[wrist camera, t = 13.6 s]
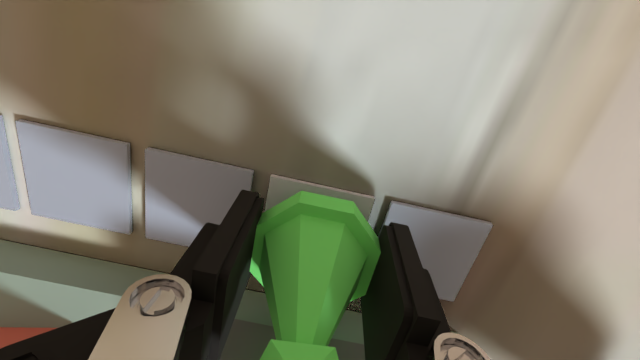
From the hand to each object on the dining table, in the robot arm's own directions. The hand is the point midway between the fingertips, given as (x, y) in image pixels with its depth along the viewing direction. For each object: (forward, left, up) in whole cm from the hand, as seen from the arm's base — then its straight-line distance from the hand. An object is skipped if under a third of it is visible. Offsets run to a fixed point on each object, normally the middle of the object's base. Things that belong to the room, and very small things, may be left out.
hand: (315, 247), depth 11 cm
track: (0, -4, -1) cm, 5 cm away
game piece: (0, 0, 0) cm, 0 cm away
